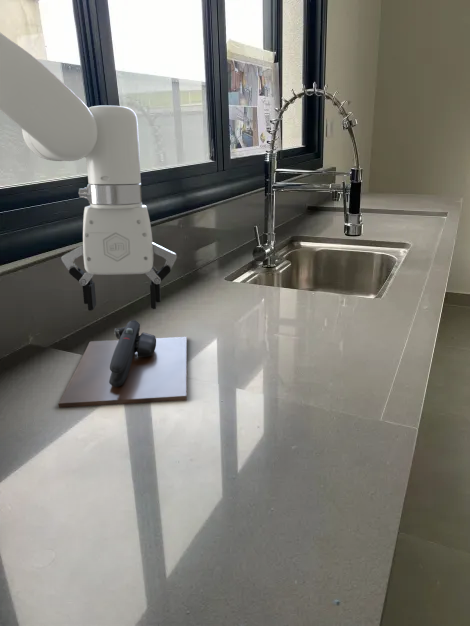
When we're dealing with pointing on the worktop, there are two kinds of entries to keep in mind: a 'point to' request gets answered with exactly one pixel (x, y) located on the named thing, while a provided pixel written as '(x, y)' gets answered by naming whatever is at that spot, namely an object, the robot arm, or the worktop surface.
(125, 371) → the can opener
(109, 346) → the cutting board
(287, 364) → the worktop surface
